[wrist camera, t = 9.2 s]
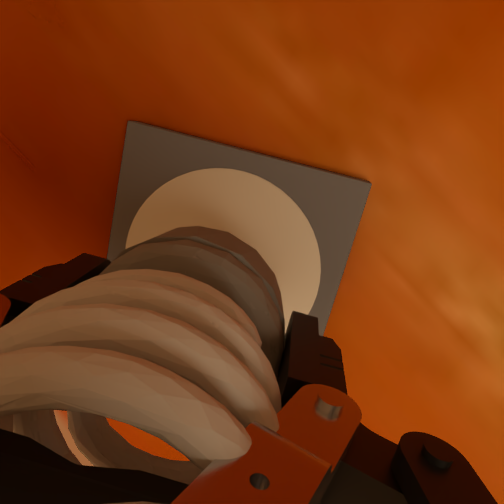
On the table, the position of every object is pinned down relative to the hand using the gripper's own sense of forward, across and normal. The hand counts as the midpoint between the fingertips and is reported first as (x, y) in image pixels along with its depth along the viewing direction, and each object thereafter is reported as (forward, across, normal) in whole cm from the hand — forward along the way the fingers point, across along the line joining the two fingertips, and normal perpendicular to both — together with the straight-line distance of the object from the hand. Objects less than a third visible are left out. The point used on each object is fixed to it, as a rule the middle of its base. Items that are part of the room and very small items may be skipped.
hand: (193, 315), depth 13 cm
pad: (+5, 0, 0) cm, 5 cm away
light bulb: (+4, 0, 0) cm, 4 cm away
